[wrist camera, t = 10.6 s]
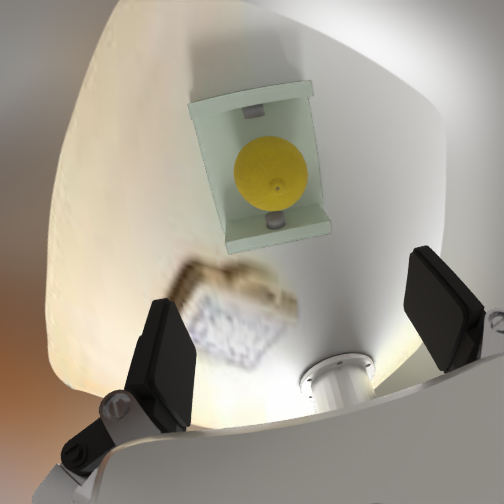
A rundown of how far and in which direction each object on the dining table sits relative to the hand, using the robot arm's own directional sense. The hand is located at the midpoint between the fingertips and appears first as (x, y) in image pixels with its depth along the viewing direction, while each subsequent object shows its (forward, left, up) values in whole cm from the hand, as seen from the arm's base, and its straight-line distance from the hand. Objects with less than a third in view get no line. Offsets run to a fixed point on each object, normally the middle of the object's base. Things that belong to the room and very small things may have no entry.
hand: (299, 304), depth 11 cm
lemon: (+1, -1, -18) cm, 18 cm away
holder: (+1, 0, -19) cm, 19 cm away
